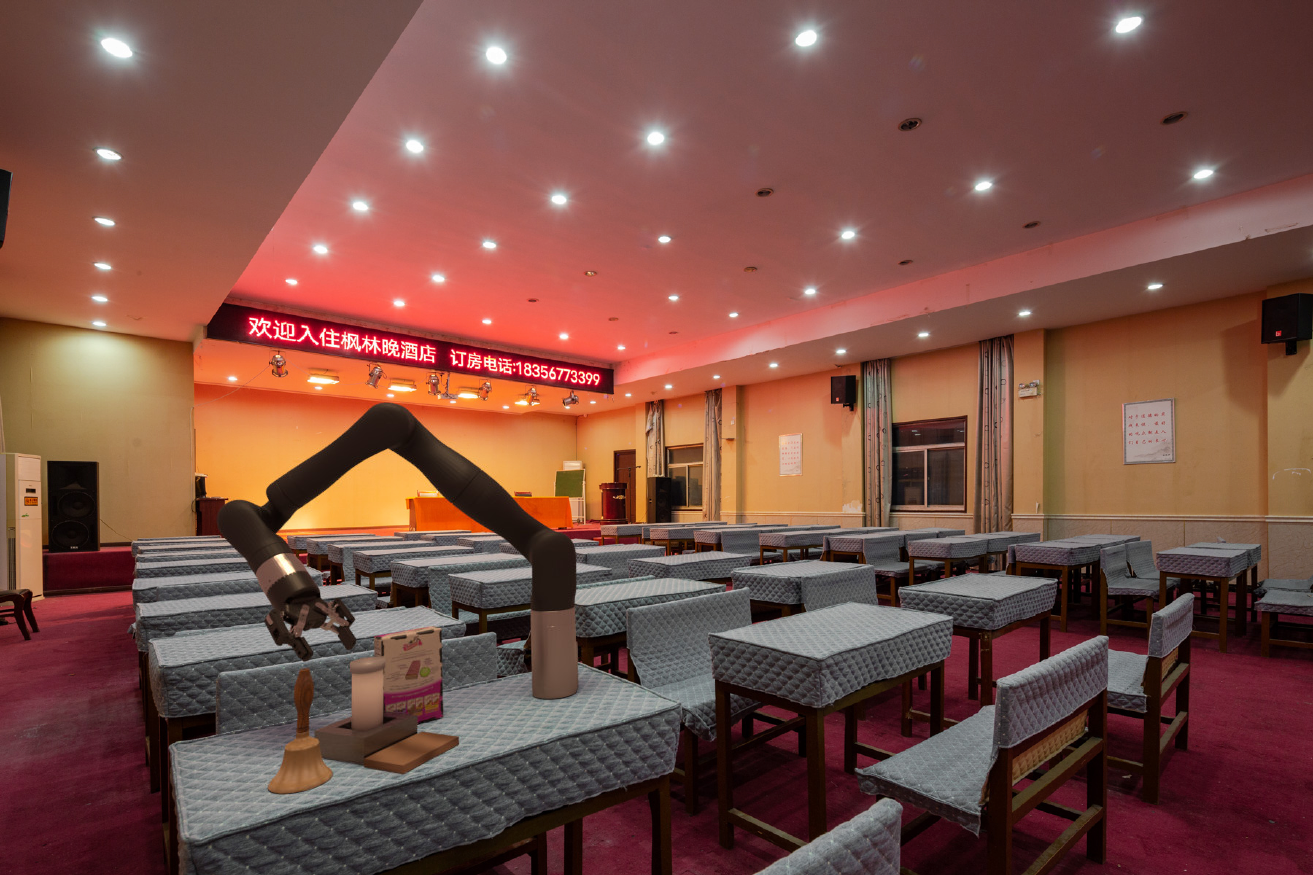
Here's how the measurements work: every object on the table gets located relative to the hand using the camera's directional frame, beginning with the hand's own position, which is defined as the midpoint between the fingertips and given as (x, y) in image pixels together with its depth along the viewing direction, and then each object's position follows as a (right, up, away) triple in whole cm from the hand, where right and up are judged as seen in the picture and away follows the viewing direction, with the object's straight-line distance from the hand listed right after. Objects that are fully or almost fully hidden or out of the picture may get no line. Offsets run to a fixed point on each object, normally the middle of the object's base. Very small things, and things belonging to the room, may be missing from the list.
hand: (331, 652), depth 109 cm
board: (+18, -13, -9) cm, 24 cm away
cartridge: (+9, -14, -5) cm, 17 cm away
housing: (+9, -14, -5) cm, 17 cm away
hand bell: (+4, -13, -17) cm, 22 cm away
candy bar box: (+11, -15, +7) cm, 20 cm away
